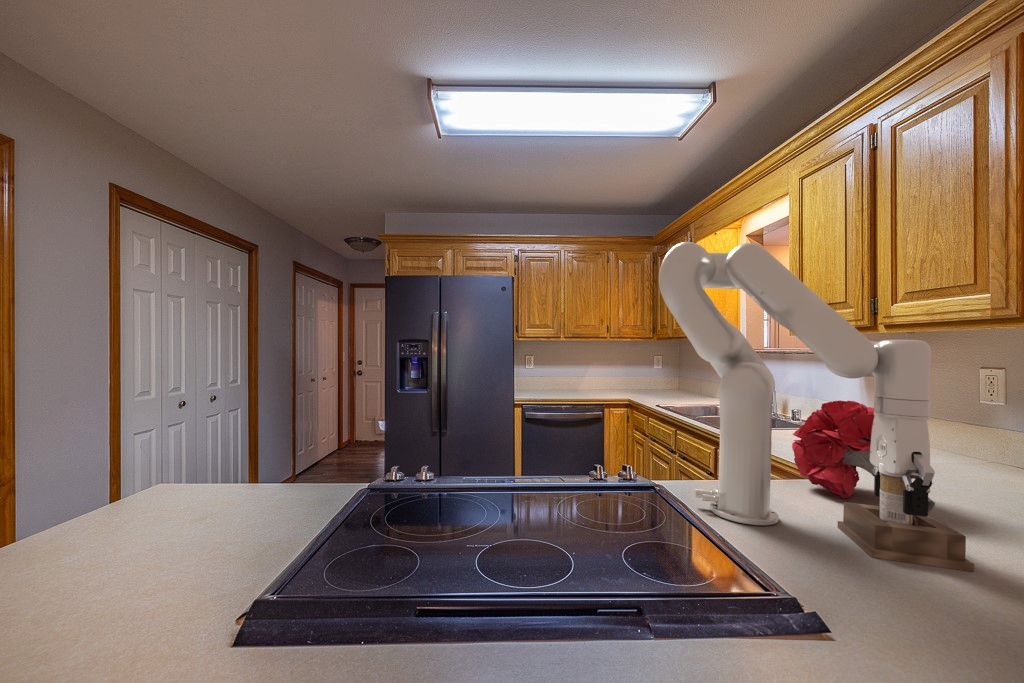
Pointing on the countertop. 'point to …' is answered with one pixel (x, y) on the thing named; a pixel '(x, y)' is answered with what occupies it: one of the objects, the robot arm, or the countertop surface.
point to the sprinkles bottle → (892, 498)
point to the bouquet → (836, 446)
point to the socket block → (905, 538)
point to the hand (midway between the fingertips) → (899, 505)
